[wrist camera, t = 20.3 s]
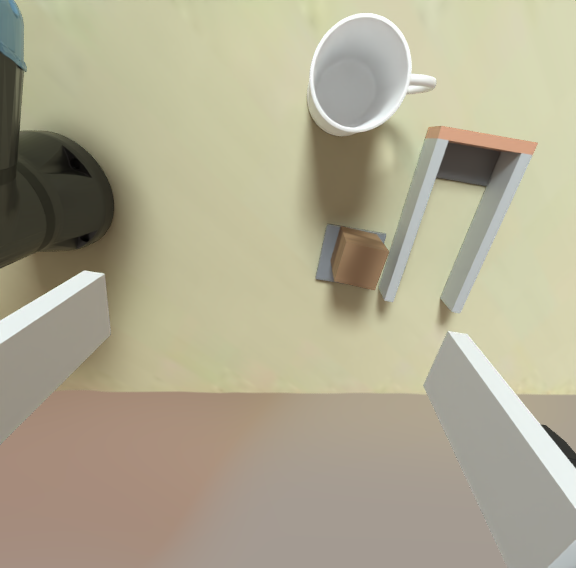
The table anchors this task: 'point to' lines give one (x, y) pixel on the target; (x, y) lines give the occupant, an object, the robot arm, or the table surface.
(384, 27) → the mug
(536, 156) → the table surface
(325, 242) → the coaster
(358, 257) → the block
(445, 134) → the channel
